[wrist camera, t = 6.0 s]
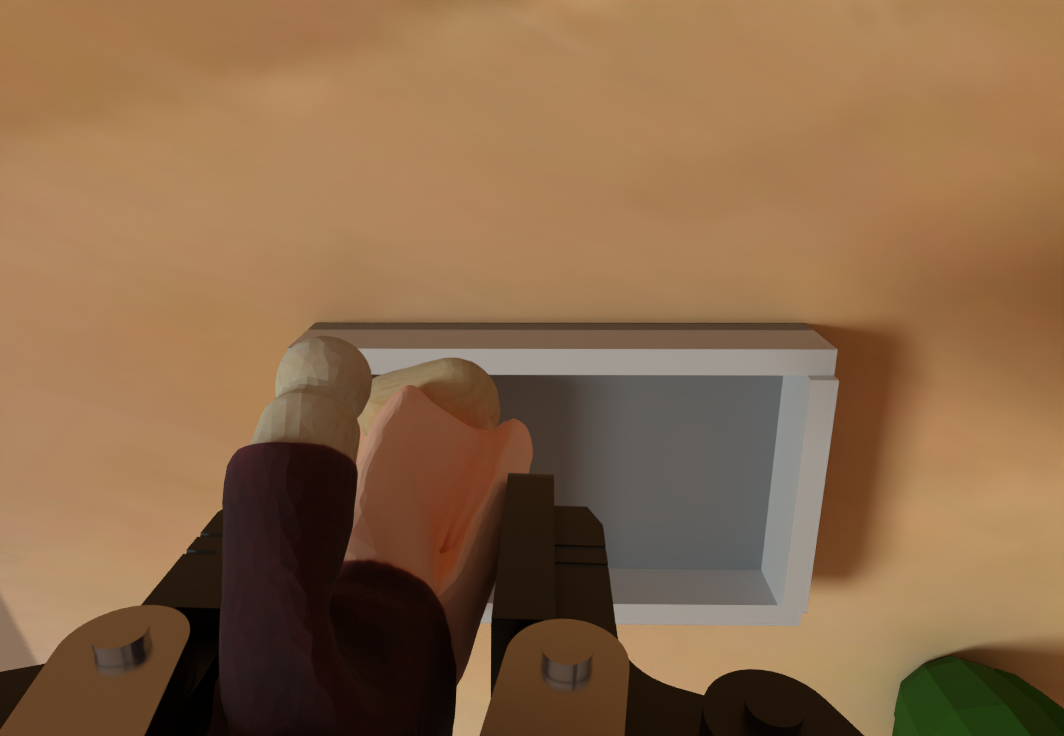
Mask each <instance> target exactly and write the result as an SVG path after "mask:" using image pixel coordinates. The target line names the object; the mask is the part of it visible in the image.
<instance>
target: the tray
mask: <svg viewBox="0 0 1064 736" xmlns="http://www.w3.org/2000/svg"><path fill="white" fill-rule="evenodd" d="M316 336H332V337H336V338H340V339H342V340H344V341H347V342H349V343H351V344H352V345H354V346H355V347H356V348H357V349H358V350H359V351H360V352H361V353H362V354H363V355H364V357H365V358H366V360H367V362H368V364H369V367H370V369H371V374H378V375H382V374H385V373H388V372H391V371H395V370H399V369H404V368H408V367H412V366H415V365H418V364H422V363H425V362H429V361H433V360H438V359H442V358H461V359H465V360H468V361H472V362H474V363H475V364H477V365H479V366H480V367H481V368H482V369H483V370H485V371H486V373H487V374H488V375H489V376H490V377H491V378H492V380H493V382H494V384H495V386H496V389H497V391H498V397H499V403H500V417H499V423H498V426H499V425H500V424H502V423H503V422H505V421H509V420H511V419H513V418H514V419H517V420H519V421H521V422H522V423H523V424H525V426H526V427H527V429H528V431H529V434H530V437H531V441H532V447H533V458H532V461H531V464H530V470H529V473H531V474H554V506H583V507H588V508H589V509H590V511H591V512H592V513H593V514H594V515H595V516H596V518H597V519H598V520H599V521H600V522H601V523H602V524H603V529H604V537H605V544H606V552H607V560H608V568H609V575H610V583H611V591H612V599H613V606H614V614H615V622H616V624H640V625H753V626H800V620H801V613H807V607H808V600H809V592H810V585H811V578H812V571H813V564H814V557H815V550H816V543H817V535H818V528H819V521H820V514H821V507H822V500H823V493H824V486H825V478H826V471H827V464H828V457H829V450H830V443H831V436H832V429H833V422H834V414H835V407H836V400H837V393H838V386H839V380H838V379H837V378H836V377H835V376H834V373H835V366H836V359H837V351H838V349H836V348H835V347H834V346H833V345H832V344H830V343H829V342H828V341H827V340H825V339H824V338H823V337H822V336H820V335H819V334H818V333H817V332H816V331H814V330H813V329H812V328H811V327H809V326H808V325H807V324H806V323H315V324H314V325H312V326H311V327H310V328H309V329H308V330H307V331H306V332H305V333H304V334H303V335H301V336H300V337H299V338H298V339H297V340H296V341H295V342H294V343H293V344H292V345H290V346H289V347H288V348H287V351H288V350H289V349H291V348H292V347H293V346H294V345H295V344H297V343H299V342H301V341H304V340H306V339H308V338H311V337H316ZM494 591H495V584H494V587H493V590H492V592H491V595H490V598H489V601H488V603H487V606H486V609H485V611H484V614H483V617H482V620H481V622H480V623H491V617H492V608H493V600H494Z"/></svg>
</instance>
